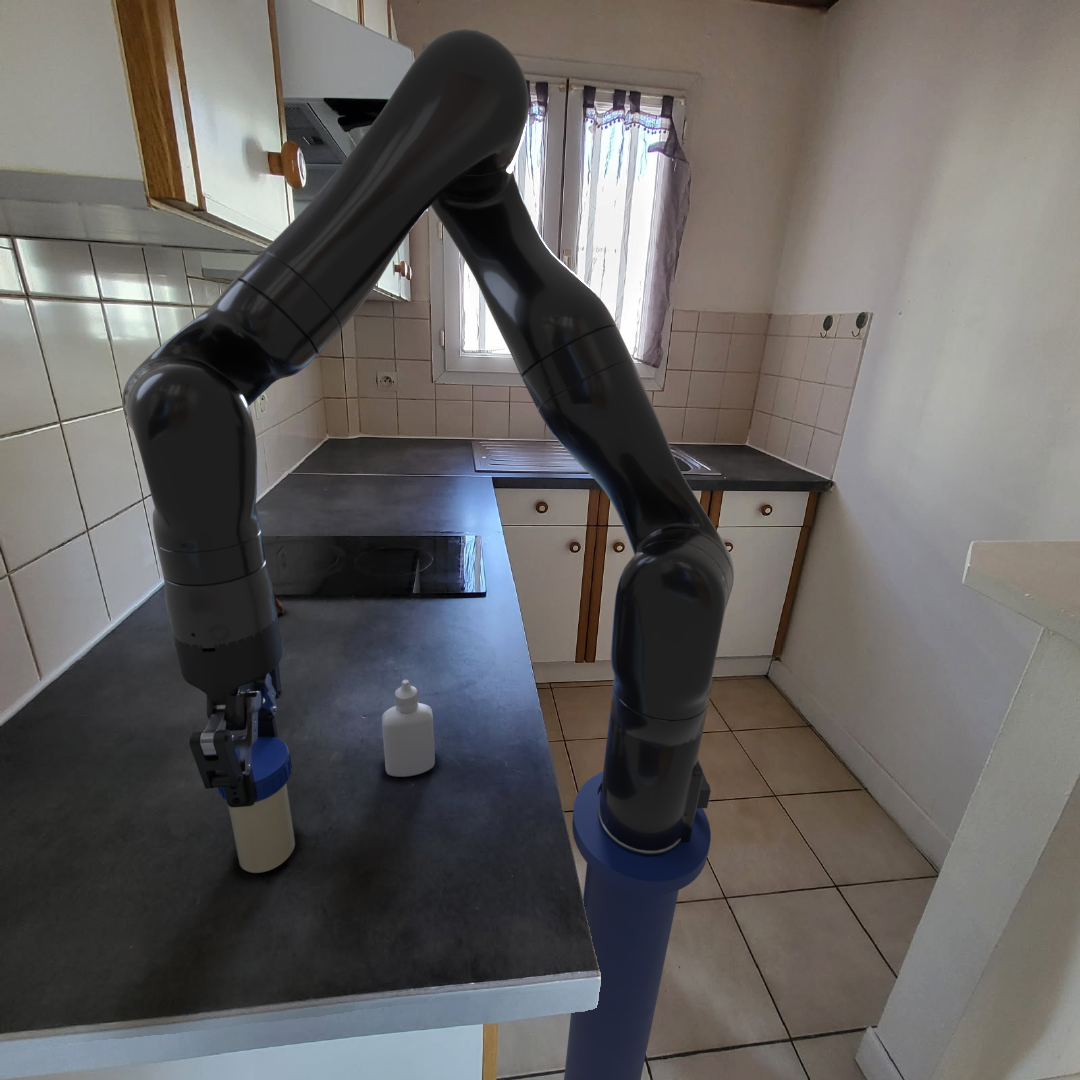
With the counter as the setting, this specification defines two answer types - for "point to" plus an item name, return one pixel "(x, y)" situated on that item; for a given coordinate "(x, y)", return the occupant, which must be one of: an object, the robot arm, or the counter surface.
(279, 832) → the jar
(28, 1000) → the counter surface
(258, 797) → the lid
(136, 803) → the counter surface
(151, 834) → the counter surface
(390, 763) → the eye dropper bottle
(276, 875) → the counter surface
